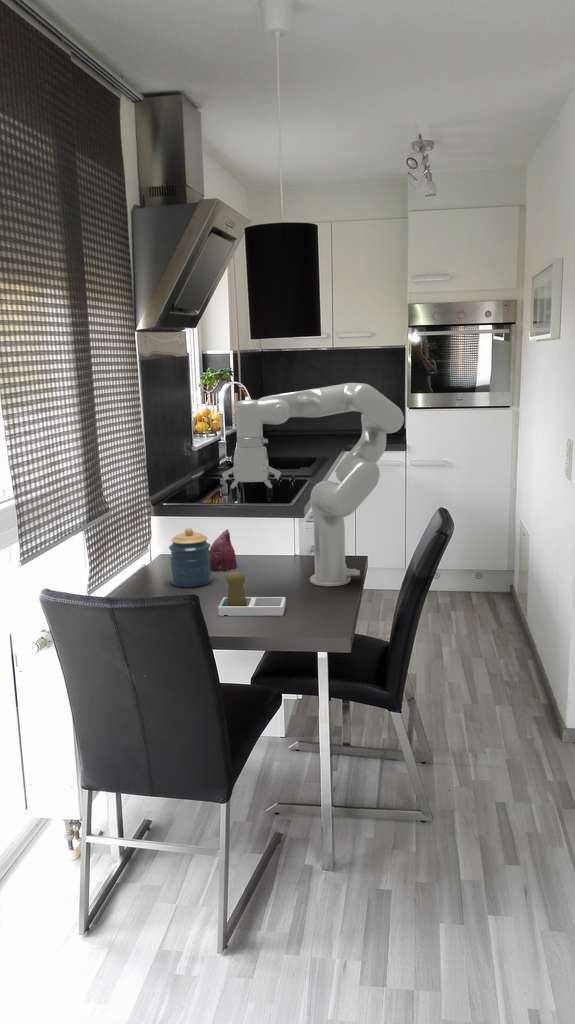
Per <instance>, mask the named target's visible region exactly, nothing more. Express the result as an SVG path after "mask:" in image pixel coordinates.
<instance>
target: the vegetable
mask: <svg viewBox="0 0 575 1024" xmlns="http://www.w3.org/2000/svg"><path fill="white" fill-rule="evenodd" d="M209 553H210V554H211V557H210V559H211V570H212V571H211V572H215V571H224V572H227V570H229V571H232V570H231V569H234V568H236V567H238V566H237V559H236V558H237V556H236V551H235V550H234V547H233V545H232V541H231V534H230V532H229V530H228V529H226V530H224V531H223V532H222V533H221V534H220V535H219V536H218V537H217V538H216V539H215V540H214V541H213V542H212V544H211V545H210V547H209ZM236 569H237V568H236ZM234 570H235V569H234Z"/></svg>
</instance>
